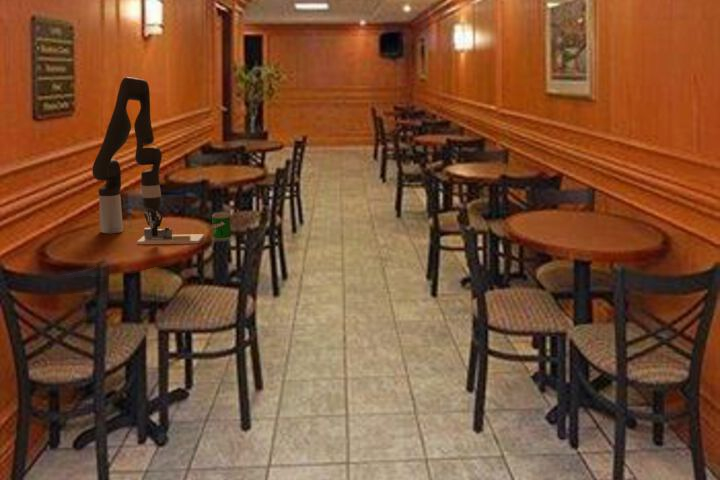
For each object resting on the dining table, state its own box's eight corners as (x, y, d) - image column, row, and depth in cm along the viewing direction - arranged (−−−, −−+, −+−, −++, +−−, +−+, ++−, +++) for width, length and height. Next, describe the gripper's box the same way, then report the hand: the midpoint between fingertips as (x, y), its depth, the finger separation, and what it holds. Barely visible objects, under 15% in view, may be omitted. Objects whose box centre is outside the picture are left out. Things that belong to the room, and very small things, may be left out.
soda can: (222, 237, 337) (221, 210, 334) (234, 239, 332) (233, 212, 330) (209, 240, 331) (208, 213, 328) (221, 242, 326) (219, 215, 324)
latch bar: (173, 236, 331) (172, 226, 331) (171, 238, 328) (170, 228, 327) (146, 237, 331) (145, 227, 330) (144, 239, 327) (143, 229, 326)
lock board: (137, 244, 325) (136, 237, 324) (145, 237, 338) (144, 230, 337) (198, 243, 325) (198, 236, 325) (204, 236, 338) (203, 230, 337)
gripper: (167, 196, 317) (170, 237, 320) (152, 192, 327) (155, 232, 330) (150, 198, 312) (153, 240, 316) (136, 195, 322) (139, 235, 326)
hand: (154, 236), depth 323 cm, fingers closed
